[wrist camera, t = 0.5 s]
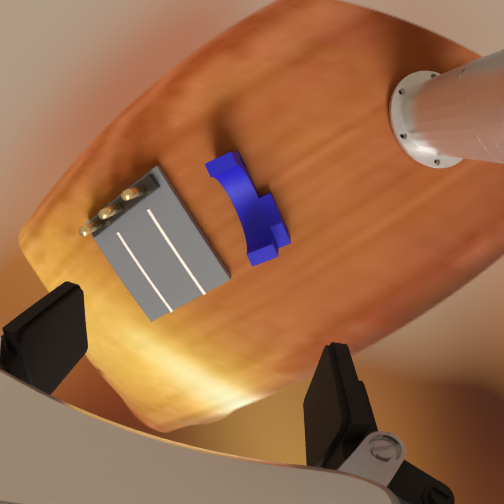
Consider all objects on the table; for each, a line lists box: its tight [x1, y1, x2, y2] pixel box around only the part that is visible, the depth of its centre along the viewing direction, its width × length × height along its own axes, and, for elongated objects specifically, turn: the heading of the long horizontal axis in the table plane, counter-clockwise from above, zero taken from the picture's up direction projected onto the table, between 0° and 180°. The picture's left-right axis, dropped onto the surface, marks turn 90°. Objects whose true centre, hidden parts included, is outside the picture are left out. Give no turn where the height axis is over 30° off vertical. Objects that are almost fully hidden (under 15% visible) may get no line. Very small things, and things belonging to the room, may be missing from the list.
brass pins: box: [79, 174, 160, 237], centre depth 36 cm, size 12×2×5 cm, turn 122°
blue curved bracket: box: [205, 152, 291, 266], centre depth 35 cm, size 12×4×6 cm, turn 24°
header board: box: [85, 165, 231, 322], centre depth 40 cm, size 14×17×1 cm
